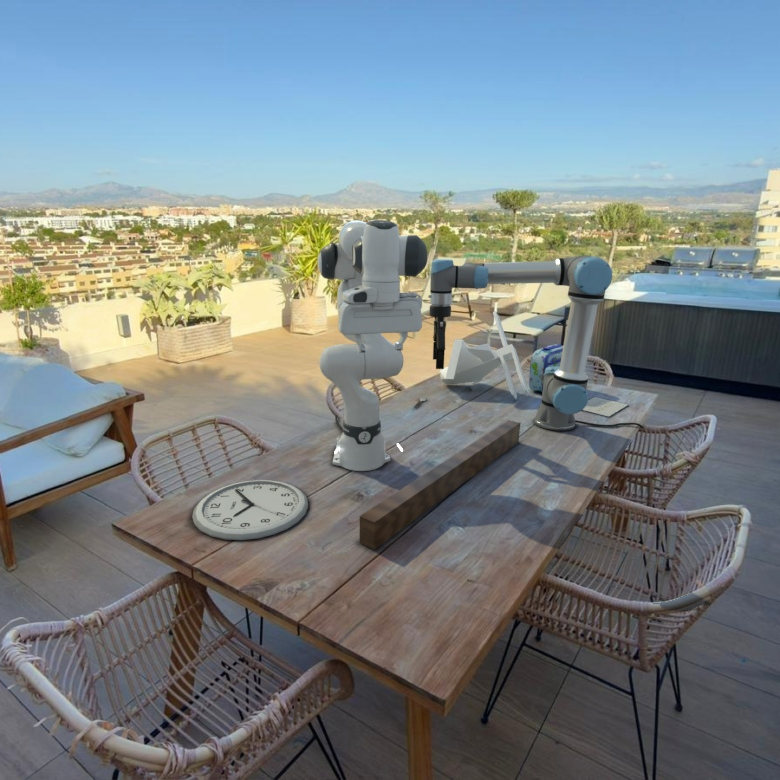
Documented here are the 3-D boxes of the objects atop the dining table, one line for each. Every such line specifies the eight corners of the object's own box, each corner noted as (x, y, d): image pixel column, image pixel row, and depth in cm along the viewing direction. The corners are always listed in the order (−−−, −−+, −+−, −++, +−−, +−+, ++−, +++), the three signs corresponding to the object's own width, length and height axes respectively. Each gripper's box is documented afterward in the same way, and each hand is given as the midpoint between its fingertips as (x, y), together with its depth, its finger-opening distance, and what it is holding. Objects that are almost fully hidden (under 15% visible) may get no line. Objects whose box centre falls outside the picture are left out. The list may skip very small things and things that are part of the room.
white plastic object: (461, 429, 252) (437, 405, 227) (444, 352, 274) (420, 323, 250) (535, 404, 240) (518, 377, 215) (510, 326, 262) (492, 293, 237)
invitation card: (608, 416, 214) (573, 407, 224) (608, 416, 214) (573, 408, 224) (628, 404, 229) (594, 396, 238) (628, 405, 229) (594, 397, 238)
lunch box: (545, 397, 238) (550, 352, 231) (524, 391, 245) (529, 348, 239) (572, 386, 255) (578, 344, 249) (552, 381, 262) (557, 340, 256)
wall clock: (304, 532, 127) (176, 536, 124) (304, 538, 127) (177, 542, 125) (311, 475, 155) (207, 478, 153) (311, 480, 156) (208, 483, 153)
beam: (506, 439, 190) (508, 420, 188) (518, 442, 187) (520, 422, 185) (359, 542, 126) (359, 515, 124) (374, 549, 124) (374, 522, 121)
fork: (411, 408, 219) (411, 404, 219) (422, 397, 234) (422, 393, 233) (417, 409, 219) (417, 404, 218) (427, 398, 233) (427, 394, 232)
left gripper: (417, 290, 128) (415, 346, 132) (335, 292, 122) (336, 350, 126) (427, 293, 122) (425, 351, 126) (341, 295, 116) (342, 356, 120)
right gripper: (427, 300, 194) (425, 355, 200) (432, 310, 170) (430, 372, 177) (447, 300, 194) (445, 355, 200) (455, 310, 170) (452, 373, 177)
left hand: (380, 351), depth 126 cm, fingers open, 8 cm apart
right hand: (438, 364), depth 189 cm, fingers open, 13 cm apart
